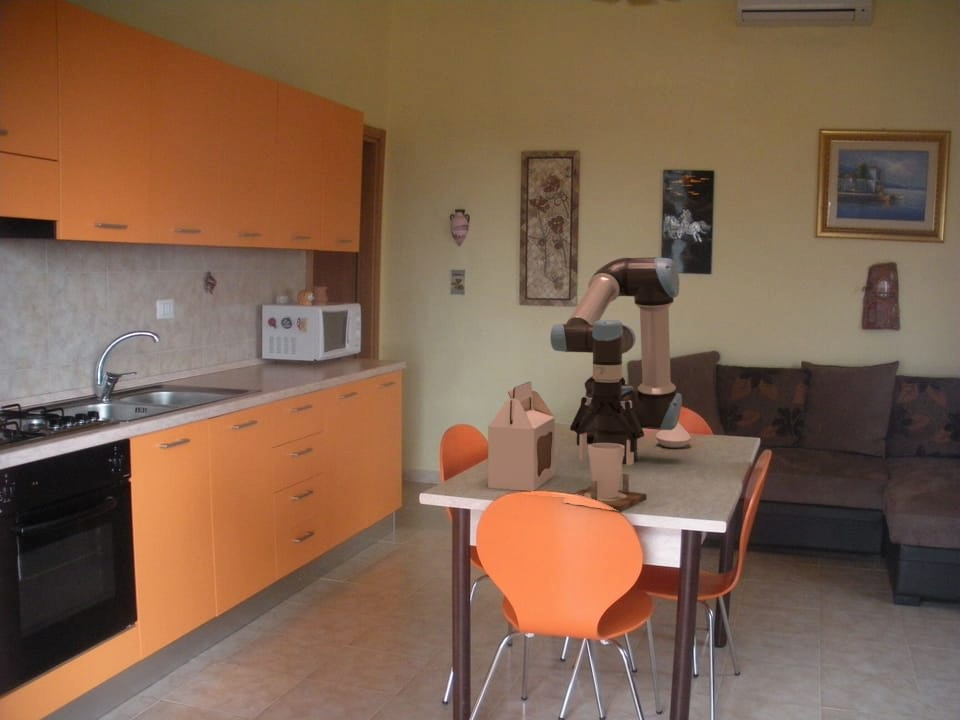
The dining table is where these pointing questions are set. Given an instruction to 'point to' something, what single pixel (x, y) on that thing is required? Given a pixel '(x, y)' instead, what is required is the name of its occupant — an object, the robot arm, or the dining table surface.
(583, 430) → the robot arm
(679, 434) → the spoon rest
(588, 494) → the pin board
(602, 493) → the foam cup
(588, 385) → the black backpack
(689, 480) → the dining table surface
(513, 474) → the gable box
